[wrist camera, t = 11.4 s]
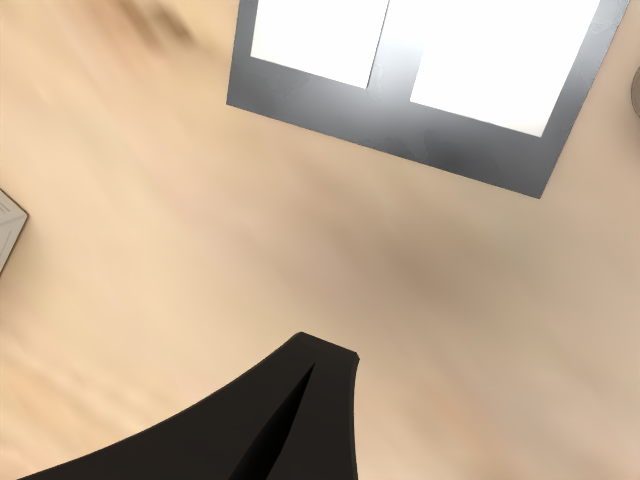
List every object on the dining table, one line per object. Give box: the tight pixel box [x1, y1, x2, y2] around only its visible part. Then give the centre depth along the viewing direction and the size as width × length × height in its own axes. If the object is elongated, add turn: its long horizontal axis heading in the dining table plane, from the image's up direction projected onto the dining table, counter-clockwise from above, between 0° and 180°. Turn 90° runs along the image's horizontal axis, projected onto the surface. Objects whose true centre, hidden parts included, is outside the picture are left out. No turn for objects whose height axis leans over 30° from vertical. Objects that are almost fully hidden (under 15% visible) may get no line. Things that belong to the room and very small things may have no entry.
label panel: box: [226, 0, 630, 199], centre depth 16 cm, size 12×10×1 cm
